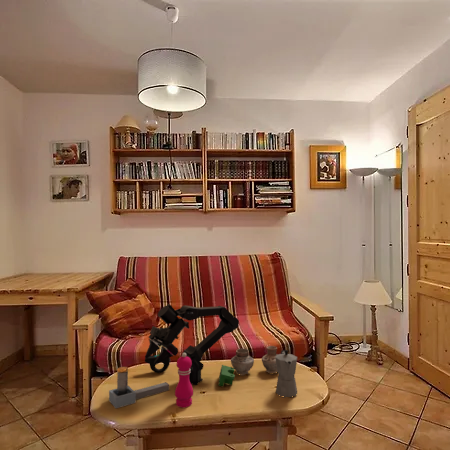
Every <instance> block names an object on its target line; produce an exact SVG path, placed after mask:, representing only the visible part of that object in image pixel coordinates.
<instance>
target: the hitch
mask: <svg viewBox="0 0 450 450" xmlns="http://www.w3.org/2000/svg"><path fill="white" fill-rule="evenodd" d="M167 391H170V384H169V383H168V382H167V381H166V382H165V381H164V382H162V383H161V382H160V383H158V384H154V385H151V386H146V387H142V388H139V389H135V390H134V389H133V388H132V387H130V385H128V394H124V395H120V396H117V388H114V389H110V390H108V401H109V402H110V404H111V405H112V406H113V407H114V409H118V408H122V407H125V406H130V405H132V404H135V403H136V402H137V400H139V399H143V398H146V397H150V396H154V395H157V394H160V393H164V392H167Z"/></svg>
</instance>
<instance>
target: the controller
mask: <svg viewBox="0 0 450 450" xmlns="http://www.w3.org/2000/svg"><path fill="white" fill-rule="evenodd" d="M158 355H159V354H157V355H155V354H154V355H151V356H150V357H148V358H147V359H146V358H145V357H144V362H145V364H149V367H150V369H151V371H152V372H153V373H156V374H162V373H164V372H166V370H167V369H168V368H169V366H170V363H171V357H170V358H168V359H166V360H164V361H162V362H161V363H162V364H163V366H162V367H161V368H157V366H156V365H155V364H154V362H155V360H156V359H157V357H158Z"/></svg>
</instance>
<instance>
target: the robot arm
mask: <svg viewBox="0 0 450 450" xmlns="http://www.w3.org/2000/svg"><path fill="white" fill-rule="evenodd" d="M157 316H158V317H159V318H160V319H161V320H162V321H163V322H164V323H165V324H167V325H168V326H167V327H160V328H159V327H156V326H153V325H152V327H151V329H150V332H149V334H150V335H149V336H148V343H149V345H148V349H147V351H146V353H145V355H144V359H145V358H146V359H147V358H148V357H150V356H153V355H154V353H156V352H157V351H158V350H160V352H159V353H158V354H157V355H158V357H157V359H156V360H155V362H154V364H155V366H157V365H158V364H160V363H162V361H164V360H166V359H168V358H170V359H171V358H173V357H176V356H177V355H178V353H179V349H178V347H176V345H175V344H173V343H174V341H175V340H178V339H179V338H180V337H179V334H181V332H182V331H183V330H184V328H186V329H188V330H189V329H190V322H191V321H194V320H197V319H199V318H201V317H210V316H211V317H213V316H218V318H219V319H220V321H219V324H218V326H217V327H216V328H215V329H213V331H211V333H209V334H208V335H206V337H205V338H204V339H203V340H201V341H200V342H199V343H198V344H196V345H195V346H193V345H189V346H188V347H187V348H185V349H183V352H182V353H181V356H180V357H182V354H183V353H186V356H187V357H189V358H190V359H191V361H192V365H191V367H190V369H191V370H190V374H189V380H190V383H191V385H192V386H193V385H194V386H196V385H198V384H200V383H201V382H202V381H203V379H204V378H202V370H203V369H204V365H205V364H203V363H202V362H201V360H202V359H203V356H204V354H205V353H206V352H207V351H209V349H210V348H212V347H213V346H214V345H215V344H216V343H217V342H218V341H219V340H220V339H222V338H223V336H225V335H226V334H229V333H232V332H234V331H236V330H237V329H238V328H239V325H240V322H239V321H240V320H239V319H238V317H235V316H234V315H233V314H232V313H231V312H230V311H229V310H228V309H227V308H226V307H225V306H223V305H218V306H203V307H202V306H201V307H196V306H192V305H182V306H181V307H180V308H177V309H175V308H174V307H173V306H172V305H171V304H169V303H167V304H166V305H165V306H163V307H162V308H160V309H159V310H158V312H157ZM179 317H180V318H179ZM189 321H190V322H189ZM160 347H161V348H160Z"/></svg>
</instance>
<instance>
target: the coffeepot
mask: <svg viewBox="0 0 450 450" xmlns="http://www.w3.org/2000/svg"><path fill="white" fill-rule="evenodd" d="M275 359H276V366H277V372H278V373H277V374H278V377H277V382H276V388H275V394H276V393H277V394H278V395H277V394H276V395H277V396H279V395H280V396H279V397H281V396H284V397H283V398H285V397H292V396H295V397H297V395H298V387H297V382H296V377H295V375H296V370H297V363H298V362H297V361H298V356H296V355H294V354H291V353H289V350H288V349H282V350H281V351H280V353H279V354H278V353H277V356H276V357H275ZM296 394H297V395H296ZM292 398H293V397H292Z"/></svg>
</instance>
